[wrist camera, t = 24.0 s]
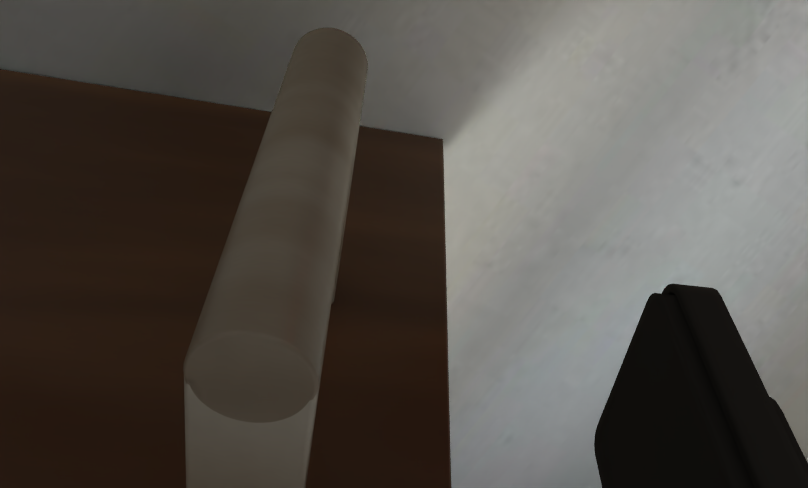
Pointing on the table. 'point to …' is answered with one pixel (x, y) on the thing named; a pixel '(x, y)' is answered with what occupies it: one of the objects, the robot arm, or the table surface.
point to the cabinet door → (220, 287)
